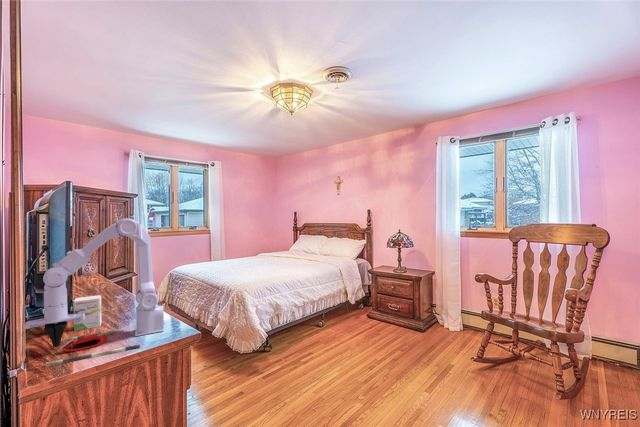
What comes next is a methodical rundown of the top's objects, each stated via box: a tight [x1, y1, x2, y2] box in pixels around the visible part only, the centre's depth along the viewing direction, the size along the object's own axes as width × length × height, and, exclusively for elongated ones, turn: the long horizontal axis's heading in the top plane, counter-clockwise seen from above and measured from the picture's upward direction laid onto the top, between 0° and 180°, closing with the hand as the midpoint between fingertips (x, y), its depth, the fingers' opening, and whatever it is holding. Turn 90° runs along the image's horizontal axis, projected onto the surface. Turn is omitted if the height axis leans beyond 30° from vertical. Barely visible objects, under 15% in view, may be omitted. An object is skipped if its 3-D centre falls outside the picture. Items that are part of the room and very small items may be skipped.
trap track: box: [44, 328, 141, 368], centre depth 104 cm, size 24×21×1 cm
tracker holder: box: [59, 333, 107, 352], centre depth 102 cm, size 12×4×10 cm
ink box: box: [73, 294, 102, 332], centre depth 120 cm, size 8×5×12 cm, turn 122°
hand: (56, 345), depth 98 cm, fingers closed
